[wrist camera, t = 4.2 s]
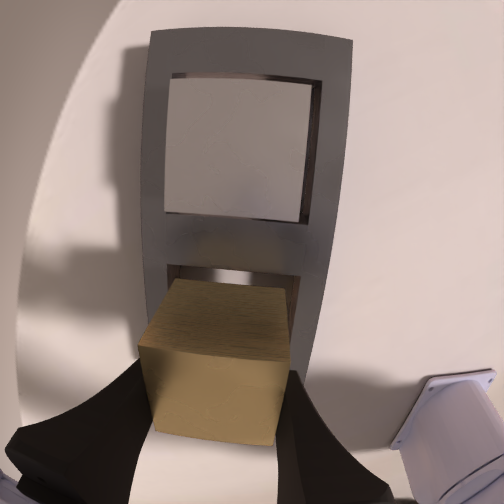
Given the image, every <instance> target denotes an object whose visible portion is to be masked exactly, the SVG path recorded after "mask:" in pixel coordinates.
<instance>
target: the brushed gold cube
mask: <svg viewBox="0 0 504 504" xmlns="http://www.w3.org/2000/svg"><path fill="white" fill-rule="evenodd" d="M138 351H139V356H140V362H141V367H142V372H143V377H144V382H145V387H146V392H147V396H148V401H149V405H150V409H151V414H152V418H153V422H154V426H155V430H156V431H158V432H163V433H168V434H173V435H179V436H185V437H191V438H198V439H204V440H212V441H220V442H229V443H239V444H251V445H266V446H273V442H274V437H275V433H276V429H277V425H278V420H279V416H280V411H281V407H282V402H283V398H284V393H285V388H286V384H287V379H288V374H289V369H290V364H291V359H290V345H289V332H288V319H287V307H286V295H285V288H273V287H261V286H249V285H238V284H227V283H217V282H207V281H197V280H187V279H178V278H175V280H174V282H173V283H172V285H171V287H170V289H169V290H168V292H167V294H166V295H165V297H164V299H163V301H162V302H161V304H160V306H159V308H158V309H157V311H156V313H155V315H154V316H153V318H152V320H151V322H150V323H149V325H148V327H147V329H146V331H145V332H144V334H143V336H142V338H141V339H140V341H139V343H138Z"/></svg>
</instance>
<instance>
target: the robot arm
mask: <svg viewBox="0 0 504 504" xmlns="http://www.w3.org/2000/svg"><path fill="white" fill-rule="evenodd" d="M496 375H497V372H496V371H495V370H488V371H482V372H475V373H468V374H460V375H451V376H441V377H433V378H431V379H429V380H428V382H427V383H426V385H425V387H424V389H423V391H422V393H421V395H420V396H419V398H418V400H417V402H416V404H415V406H414V407H413V409H412V411H411V413H410V414H409V416H408V418H407V419H406V421H405V423H404V424H403V426H402V428H401V429H400V431H399V433H398V434H397V436H396V437H395V439H394V440H393V442H392V443H391V445H390V449H391V450H398V449H399V450H400V454H401V457H402V460H403V463H404V467H405V470H406V474H407V477H408V480H409V484H410V487H411V491H412V494H413V496H414V498H415V500H416V501H417V502H418V503H419V504H504V422H503V420H502V418H501V417H500V415H499V413H498V412H497V410H496V408H495V407H494V405H493V403H492V402H491V400H490V399H489V397H488V395H487V394H486V392H487V390H488V389H489V387H490V385H491V384H492V382H493V380H494V378H495V377H496ZM152 422H153V418H152V414H151V409H150V405H149V401H148V396H147V392H146V387H145V382H144V377H143V372H142V367H141V362H140V358H139V359H138V360H137V361H135V362H134V363H133V364H132V365H131V366H130V367H129V368H128V369H127V370H126V371H124V372H123V373H122V374H121V375H120V376H119V377H118V378H116V379H115V380H114V381H113V382H112V383H110V384H109V385H108V386H106V387H105V388H104V389H103V390H101V391H100V392H99V393H97V394H96V395H94V396H93V397H91V398H90V399H88V400H87V401H85V402H84V403H82V404H80V405H79V406H77V407H75V408H73V409H71V410H69V411H67V412H65V413H63V414H60V415H58V416H56V417H53V418H51V419H48V420H45V421H42V422H39V423H36V424H32V425H28V426H24V427H20V428H18V429H17V431H16V432H15V434H14V435H13V437H12V438H11V440H10V441H9V443H8V444H7V446H6V447H5V453H6V455H7V457H8V458H9V459H10V461H11V462H12V463H13V464H14V465H15V467H16V468H17V469H18V470H19V471H20V472H21V473H22V477H21V478H20V480H19V482H17V481H15V480H14V479H12V478H10V477H9V476H7V475H5V474H4V473H3V472H2V470H1V469H0V504H128V502H129V496H130V491H131V486H132V482H133V477H134V473H135V469H136V465H137V461H138V457H139V454H140V451H141V448H142V446H143V443H144V441H145V438H146V436H147V434H148V431H149V429H150V426H151V424H152ZM275 435H276V447H277V459H278V497H277V504H395V500H394V496H393V494H392V491H391V489H390V487H389V484H387V483H386V482H384V481H383V480H381V479H380V478H378V477H377V476H375V475H374V474H373V473H371V472H370V471H369V470H368V469H366V468H365V467H364V466H363V465H362V464H360V463H359V462H358V461H357V460H356V459H355V458H354V457H353V456H352V455H351V454H350V453H349V452H348V451H347V450H346V449H345V448H344V447H343V446H342V445H341V443H340V442H339V441H338V440H337V439H336V438H335V436H334V435H333V434H332V433H331V431H330V430H329V428H328V427H327V426H326V424H325V423H324V421H323V420H322V418H321V417H320V415H319V414H318V412H317V410H316V409H315V407H314V405H313V403H312V401H311V400H310V398H309V396H308V394H307V392H306V390H305V388H304V386H303V383H302V381H301V378H300V376H299V373H298V372H297V371H296V370H289V374H288V379H287V384H286V388H285V393H284V398H283V402H282V407H281V411H280V416H279V420H278V425H277V429H276V433H275Z"/></svg>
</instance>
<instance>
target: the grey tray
mask: <svg viewBox="0 0 504 504" xmlns="http://www.w3.org/2000/svg"><path fill="white" fill-rule="evenodd" d="M352 50H353V40H350V39H345V38H339V37H334V36H328V35H321V34H315V33H307V32H299V31H290V30H280V29H267V28H248V27H198V28H179V29H166V30H156V31H151V37H150V45H149V53H148V61H147V71H146V81H145V92H144V106H143V122H142V145H141V228H142V251H143V268H144V282H145V294H146V305H147V315H148V324H149V323H150V322H151V320H152V318H153V316H154V315H155V313H156V311H157V309H158V308H159V306H160V304H161V302H162V301H163V299H164V297H165V295H166V294H167V292H168V290H169V289H170V287H171V285H172V283H173V282H174V280H175V278H178V279H180V265H184V266H194V267H205V268H215V269H226V270H237V271H248V272H259V273H271V274H283V275H295V277H294V284H293V291H292V297H291V304H290V311H289V317H288V332H289V345H290V359H291V364H290V369H289V370H296V371H297V372H298V373H299V376H300V378H301V381H302V383H303V385H304V381H305V377H306V373H307V369H308V365H309V360H310V356H311V352H312V347H313V343H314V338H315V334H316V329H317V325H318V320H319V315H320V310H321V305H322V300H323V295H324V290H325V284H326V279H327V274H328V268H329V262H330V257H331V251H332V245H333V238H334V232H335V226H336V219H337V212H338V205H339V198H340V190H341V182H342V174H343V166H344V157H345V148H346V138H347V127H348V116H349V103H350V89H351V72H352ZM183 78H226V79H250V80H265V81H278V82H288V83H297V84H306V85H312V86H311V88H313V89H315V91H314V105H313V117H312V128H311V140H310V150H309V160H308V170H307V180H306V189H305V198H304V207H303V213H301V212H300V213H299V221H298V222H293V221H283V220H272V219H260V218H249V217H236V216H224V215H211V214H197V213H182V212H167V211H164V192H165V152H166V131H167V114H168V100H169V87H170V79H183Z"/></svg>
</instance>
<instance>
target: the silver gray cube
mask: <svg viewBox="0 0 504 504" xmlns="http://www.w3.org/2000/svg"><path fill="white" fill-rule="evenodd" d="M311 86H312V85H306V84H297V83H288V82H278V81H265V80H250V79H226V78H183V79H170V87H169V100H168V114H167V131H166V152H165V192H164V211H167V212H182V213H197V214H211V215H224V216H236V217H249V218H260V219H272V220H283V221H293V222H298V221H299V213H300V204H301V195H302V186H303V176H304V167H305V157H306V146H307V135H308V124H309V112H310V100H311Z"/></svg>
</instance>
